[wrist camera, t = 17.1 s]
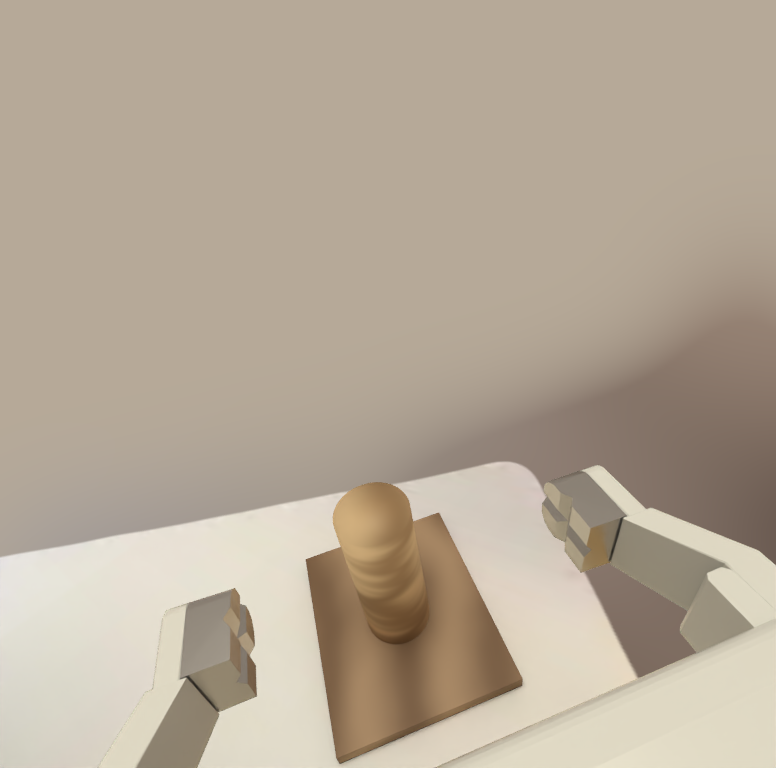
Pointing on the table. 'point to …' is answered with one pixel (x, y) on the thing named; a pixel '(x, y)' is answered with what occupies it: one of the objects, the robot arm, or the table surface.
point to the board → (406, 650)
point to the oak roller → (383, 560)
